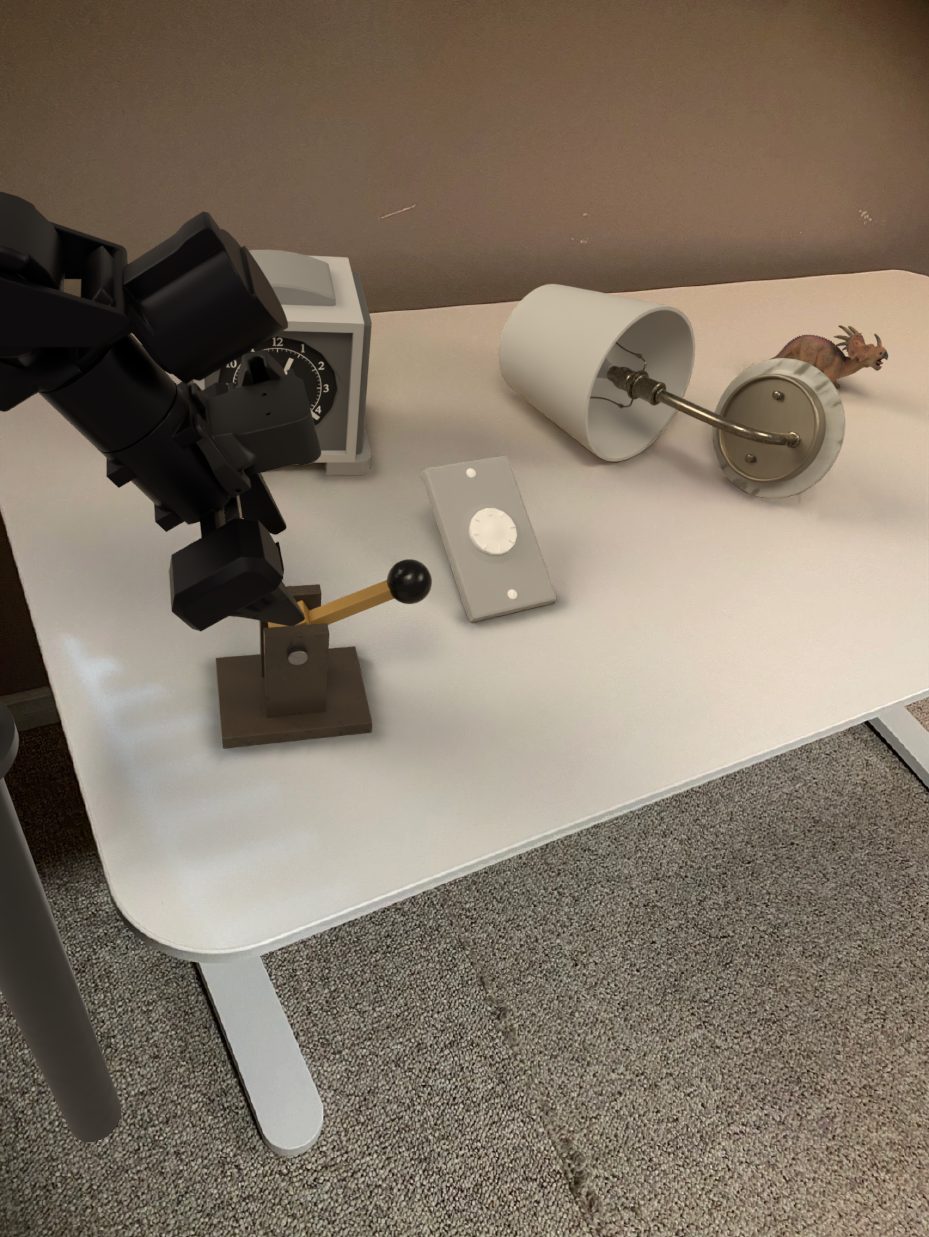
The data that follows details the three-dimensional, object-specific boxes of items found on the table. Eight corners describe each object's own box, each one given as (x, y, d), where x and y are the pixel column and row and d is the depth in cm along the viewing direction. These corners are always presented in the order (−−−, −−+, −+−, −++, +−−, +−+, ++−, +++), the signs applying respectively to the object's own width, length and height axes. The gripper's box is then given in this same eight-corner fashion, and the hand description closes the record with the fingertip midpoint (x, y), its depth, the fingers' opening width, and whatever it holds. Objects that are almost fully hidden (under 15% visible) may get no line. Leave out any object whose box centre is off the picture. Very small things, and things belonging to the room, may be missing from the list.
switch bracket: (354, 655, 76) (361, 567, 69) (371, 732, 71) (380, 644, 64) (216, 667, 73) (209, 576, 67) (222, 748, 68) (215, 658, 61)
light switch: (477, 616, 79) (426, 463, 82) (455, 635, 84) (408, 491, 87) (562, 596, 82) (511, 449, 85) (536, 615, 88) (489, 477, 91)
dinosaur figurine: (859, 389, 121) (891, 324, 115) (861, 412, 117) (895, 345, 111) (756, 363, 123) (782, 297, 116) (754, 384, 119) (781, 317, 112)
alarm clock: (181, 476, 90) (165, 296, 77) (183, 401, 99) (168, 229, 86) (371, 475, 94) (385, 304, 81) (356, 403, 103) (366, 239, 90)
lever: (432, 572, 68) (418, 543, 66) (442, 603, 66) (427, 574, 64) (282, 632, 69) (263, 605, 67) (287, 664, 67) (267, 637, 64)
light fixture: (709, 542, 84) (465, 407, 103) (802, 531, 97) (570, 413, 117) (788, 360, 77) (510, 252, 96) (877, 376, 90) (617, 277, 110)
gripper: (276, 439, 45) (422, 615, 56) (239, 264, 57) (365, 437, 68) (88, 549, 46) (267, 698, 58) (92, 356, 59) (238, 510, 70)
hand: (289, 573), depth 64 cm, fingers open, 9 cm apart
